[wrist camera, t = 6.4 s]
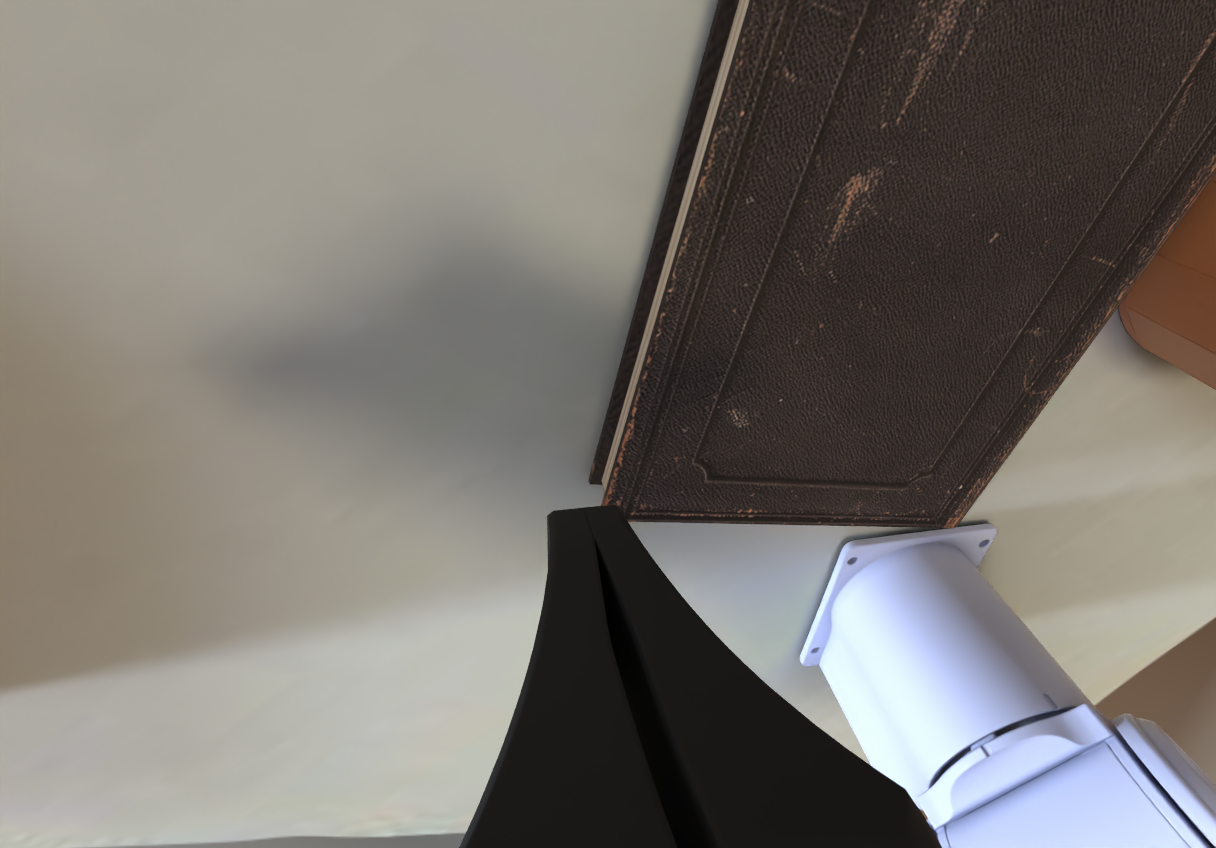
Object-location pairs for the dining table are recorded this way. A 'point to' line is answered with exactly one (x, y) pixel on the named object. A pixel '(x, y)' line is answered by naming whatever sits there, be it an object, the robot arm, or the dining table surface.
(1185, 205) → the hardcover book
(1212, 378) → the pot
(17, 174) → the dining table surface
